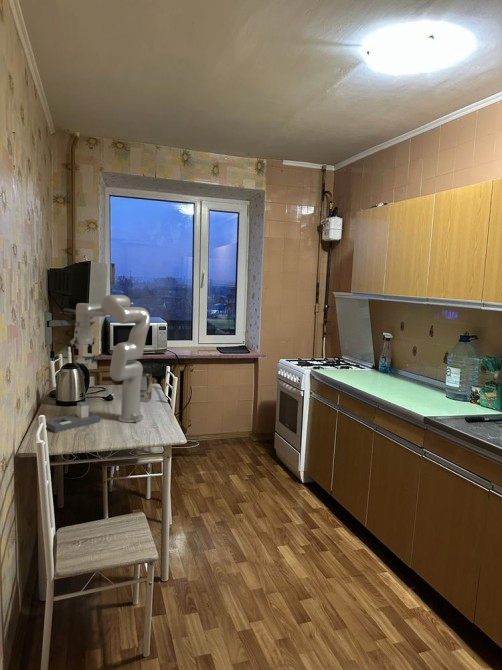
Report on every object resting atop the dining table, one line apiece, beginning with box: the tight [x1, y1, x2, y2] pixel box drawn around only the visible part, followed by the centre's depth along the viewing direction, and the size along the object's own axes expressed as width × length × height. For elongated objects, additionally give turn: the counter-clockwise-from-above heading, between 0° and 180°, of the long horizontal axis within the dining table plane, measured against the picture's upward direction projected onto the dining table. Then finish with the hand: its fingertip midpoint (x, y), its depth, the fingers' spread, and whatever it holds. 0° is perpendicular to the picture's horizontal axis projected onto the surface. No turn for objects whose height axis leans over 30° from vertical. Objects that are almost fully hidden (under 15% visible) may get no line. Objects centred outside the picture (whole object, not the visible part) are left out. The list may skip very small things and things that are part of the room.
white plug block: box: [76, 401, 90, 418], centre depth 228 cm, size 4×4×10 cm
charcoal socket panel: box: [46, 411, 101, 433], centre depth 223 cm, size 12×24×3 cm, turn 143°
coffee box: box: [140, 373, 153, 403], centre depth 274 cm, size 9×6×16 cm
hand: (83, 354), depth 256 cm, fingers open, 9 cm apart
